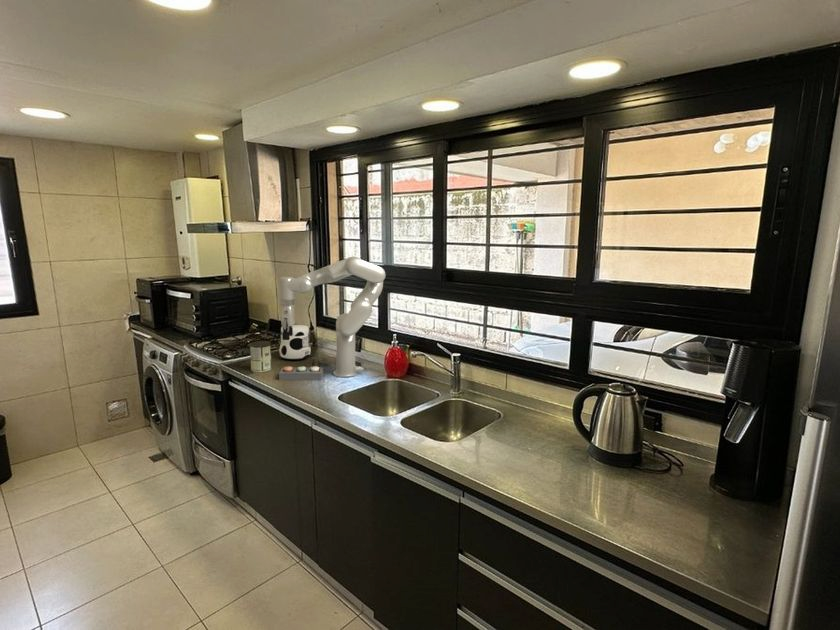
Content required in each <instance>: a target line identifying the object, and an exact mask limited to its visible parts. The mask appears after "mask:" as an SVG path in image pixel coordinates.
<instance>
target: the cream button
mask: <svg viewBox="0 0 840 630" xmlns="http://www.w3.org/2000/svg"><path fill="white" fill-rule="evenodd" d="M310 367H311V372H319V366H317V365H315V366H310Z"/></svg>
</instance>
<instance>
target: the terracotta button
mask: <svg viewBox="0 0 840 630" xmlns="http://www.w3.org/2000/svg"><path fill="white" fill-rule="evenodd" d="M283 367H284V372H292V367H293V366H291V365H288V366H287V365H286V366H283Z"/></svg>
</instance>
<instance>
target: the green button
mask: <svg viewBox="0 0 840 630" xmlns="http://www.w3.org/2000/svg"><path fill="white" fill-rule="evenodd" d="M296 367H297V366H296ZM297 371H298V372H306V366H304V365H302V366H301V365H300V366H298V367H297Z"/></svg>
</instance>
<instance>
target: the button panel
mask: <svg viewBox="0 0 840 630" xmlns="http://www.w3.org/2000/svg"><path fill="white" fill-rule="evenodd" d="M284 367H285V366H283V367H281V369H280V371H279V372H278V381H322V379H323V376H324V367H319V366H318V367H319V372H311V367H312V366H310V367H306V366H305V367H306V372H298V371H297V366H295V367H293V366H291V367H292V372H284Z"/></svg>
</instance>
